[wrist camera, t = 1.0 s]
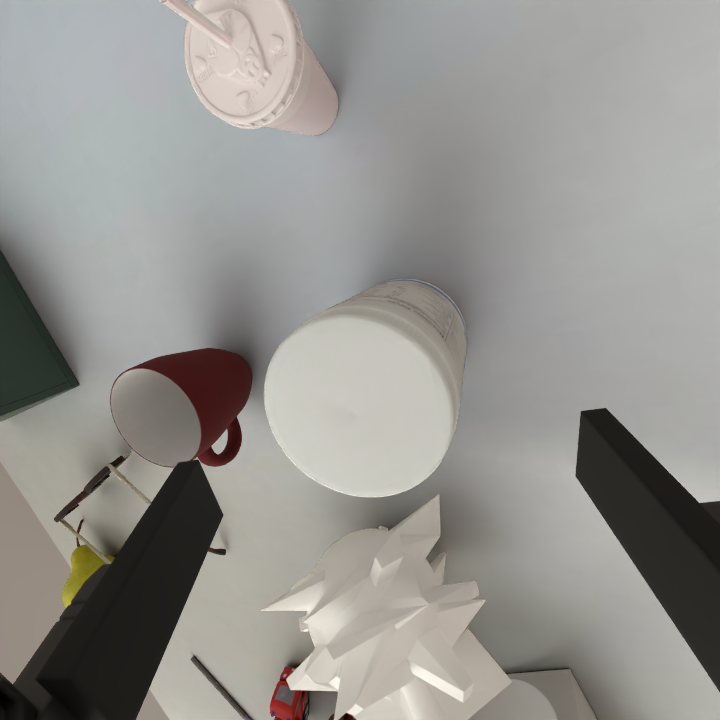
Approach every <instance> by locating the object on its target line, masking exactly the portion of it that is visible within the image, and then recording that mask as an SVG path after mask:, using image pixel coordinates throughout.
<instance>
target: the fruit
mask: <svg viewBox="0 0 720 720" xmlns="http://www.w3.org/2000/svg"><path fill="white" fill-rule="evenodd" d="M83 521H84V520H81V521H80V524H79V527H78V530H77V533H78V534H79V532H80V529H81V525H82V523H83ZM77 547H78V548H76V549H75V550H74V552H73V553H72V557H71V564H72V572H71V574H70V577H69V579H68V581H67V582H66V584H65V586H64V589H63V592H62V600H63V603H64V606H65V607H66V608H67V606H68V605H70V604H71V600H72V599H73V598H74V596H75V595H76V593H77V592H78V590H79V589H80V588H81V586H82V585H83V583H84V582H85V581H86V580H87V579H88V578H89V577H90V576H91V575H92V574H93V573H94V572H95V571H96V570H97V569H98V568H99V567H101V566H102V565H104V564H107V563H106V562H105V561H104V560H103V559H102V558H100V557H99V556H98V555H97V554H96V553H95V552H94V551H93V550H92V549H90V548H89V547H88V546H87V545H82V546H80V544H79V541H78V537H77ZM104 556H105V557H106V558H107V559H108V560H109V561H111V562H113V560H114V559H115V557H112V556H108V555H104Z"/></svg>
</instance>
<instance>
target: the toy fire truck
mask: <svg viewBox="0 0 720 720" xmlns="http://www.w3.org/2000/svg"><path fill="white" fill-rule="evenodd" d="M295 670H296V669H295V668H292V667H285V668H284V670H283V672H282V674H281V677H280V681H279V682H278V684H277V686H276V689H275V691H274V694H273V697H272V700H271V704H270V714H271V716H272V717H273V716H275V719H274V720H307V718H308V715H309V711H308V707H309V702H307V690H290V688H289V685H288V683H287V680H286V679H287V678H288V677H289V676H290V675H291V674H292V673H293V672H294V671H295Z"/></svg>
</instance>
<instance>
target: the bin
mask: <svg viewBox="0 0 720 720" xmlns="http://www.w3.org/2000/svg"><path fill="white" fill-rule="evenodd" d="M77 386H79V384H78V382H77V380H76V379H75V377H74V375H73V373H72V372H71V370H70V368H69V367H68V365H67V363H66V362H65V360H64V358H63V356H62V355H61V353H60V351H59V350H58V348H57V346H56V345H55V343H54V341H53V339H52V338H51V336H50V334H49V333H48V331H47V329H46V328H45V326H44V324H43V323H42V321H41V319H40V317H39V316H38V314H37V312H36V311H35V309H34V307H33V306H32V304H31V302H30V300H29V299H28V297H27V295H26V294H25V292H24V290H23V289H22V287H21V285H20V283H19V282H18V280H17V278H16V277H15V275H14V273H13V272H12V270H11V268H10V266H9V265H8V263H7V261H6V260H5V258H4V256H3V255H2V253H1V251H0V422H1V421H3V420H6V419H8V418H10V417H12V416H14V415H16V414H19V413H21V412H23V411H25V410H27V409H29V408H32V407H34V406H36V405H38V404H40V403H42V402H45V401H47V400H49V399H51V398H53V397H55V396H58V395H60V394H62V393H64V392H66V391H68V390H71V389H73V388H75V387H77Z"/></svg>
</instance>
